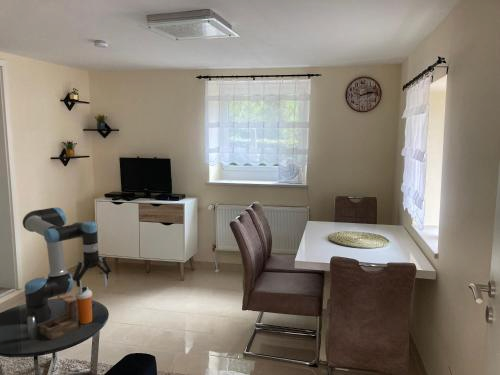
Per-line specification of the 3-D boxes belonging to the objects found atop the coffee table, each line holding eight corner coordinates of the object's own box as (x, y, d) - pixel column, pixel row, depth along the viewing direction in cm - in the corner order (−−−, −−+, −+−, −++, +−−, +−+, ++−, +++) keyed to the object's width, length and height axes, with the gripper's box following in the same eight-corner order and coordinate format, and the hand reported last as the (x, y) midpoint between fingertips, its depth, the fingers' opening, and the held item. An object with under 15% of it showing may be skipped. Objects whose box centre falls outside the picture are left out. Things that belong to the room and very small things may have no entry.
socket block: (40, 333, 227) (37, 302, 225) (68, 322, 240) (66, 293, 237) (51, 339, 220) (48, 308, 217) (79, 328, 232) (76, 298, 230)
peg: (27, 338, 222) (25, 317, 220) (34, 335, 225) (33, 314, 223) (30, 340, 219) (28, 319, 218) (38, 337, 222) (36, 316, 221)
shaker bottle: (77, 326, 235) (75, 292, 232) (77, 319, 243) (75, 287, 240) (94, 323, 238) (92, 290, 236) (93, 316, 247) (91, 285, 244)
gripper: (69, 257, 208) (72, 297, 211) (116, 247, 224) (118, 284, 228) (64, 254, 213) (66, 292, 216) (110, 244, 230) (112, 280, 233)
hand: (93, 288), depth 222 cm, fingers open, 13 cm apart
